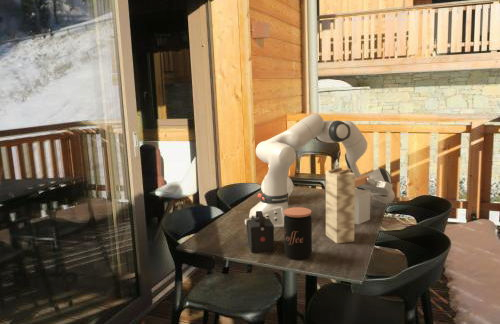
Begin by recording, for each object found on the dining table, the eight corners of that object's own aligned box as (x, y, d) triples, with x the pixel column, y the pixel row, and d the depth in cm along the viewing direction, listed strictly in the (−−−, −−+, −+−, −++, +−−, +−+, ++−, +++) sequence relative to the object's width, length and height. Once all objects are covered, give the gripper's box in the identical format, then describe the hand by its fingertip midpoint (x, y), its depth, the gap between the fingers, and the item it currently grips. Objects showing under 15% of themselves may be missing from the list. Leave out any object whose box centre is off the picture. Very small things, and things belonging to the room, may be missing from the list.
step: (358, 224, 213) (358, 195, 210) (340, 220, 220) (340, 192, 217) (369, 219, 220) (370, 191, 217) (351, 215, 227) (352, 188, 224)
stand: (334, 243, 190) (334, 173, 184) (323, 235, 200) (323, 168, 195) (356, 240, 192) (357, 171, 187) (344, 232, 203) (345, 166, 197)
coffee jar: (278, 255, 179) (278, 211, 176) (296, 248, 186) (295, 205, 183) (300, 262, 171) (299, 216, 168) (317, 254, 179) (317, 210, 176)
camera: (271, 239, 197) (270, 206, 194) (277, 251, 184) (276, 215, 181) (246, 241, 196) (245, 207, 193) (250, 253, 182) (249, 217, 179)
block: (346, 189, 209) (346, 183, 208) (340, 188, 211) (340, 182, 210) (369, 182, 223) (369, 176, 222) (364, 181, 225) (364, 175, 224)
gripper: (359, 179, 239) (346, 170, 229) (395, 185, 224) (383, 175, 215) (356, 190, 237) (343, 182, 228) (392, 197, 223) (380, 188, 213)
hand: (363, 178), depth 221 cm, fingers closed on block, 3 cm apart
